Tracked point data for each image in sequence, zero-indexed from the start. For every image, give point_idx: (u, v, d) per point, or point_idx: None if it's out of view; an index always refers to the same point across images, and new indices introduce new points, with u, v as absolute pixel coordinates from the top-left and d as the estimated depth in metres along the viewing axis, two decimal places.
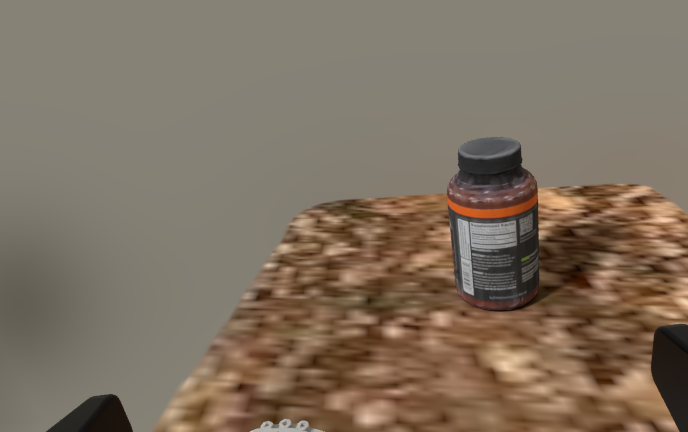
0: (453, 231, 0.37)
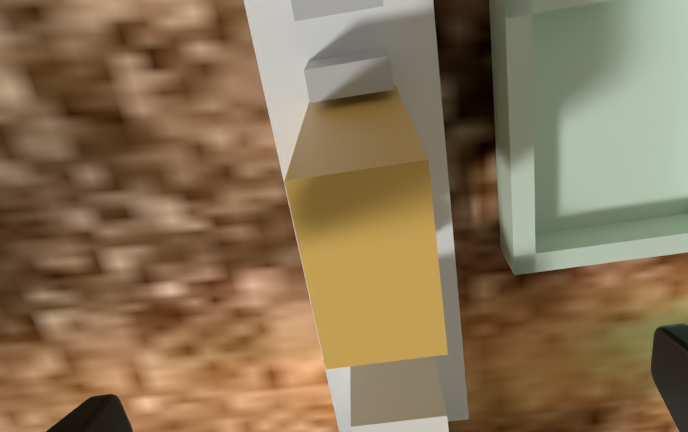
0: None
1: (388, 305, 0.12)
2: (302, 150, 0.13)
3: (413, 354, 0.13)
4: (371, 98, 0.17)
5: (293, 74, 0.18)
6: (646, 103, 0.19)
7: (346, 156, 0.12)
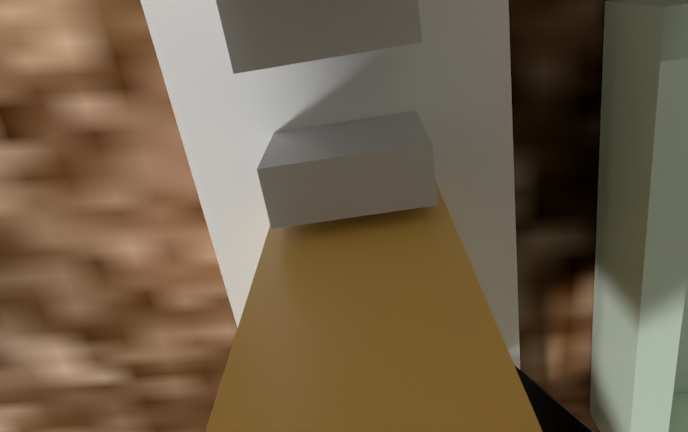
0: None
1: None
2: None
3: None
4: (391, 212, 0.09)
5: (247, 156, 0.10)
6: None
7: None
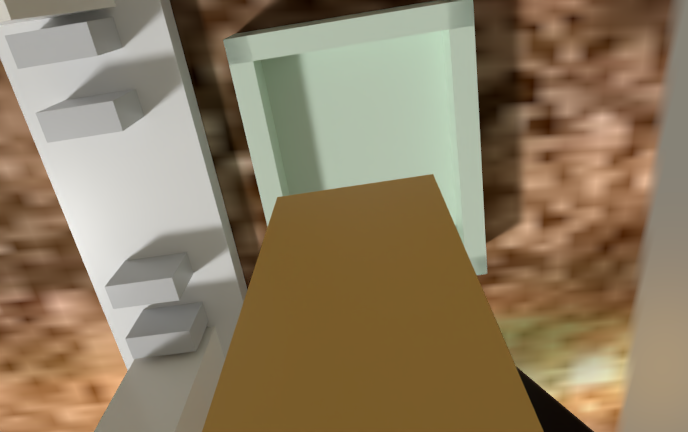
0: None
1: None
2: None
3: None
4: (390, 210, 0.09)
5: None
6: (396, 140, 0.20)
7: None
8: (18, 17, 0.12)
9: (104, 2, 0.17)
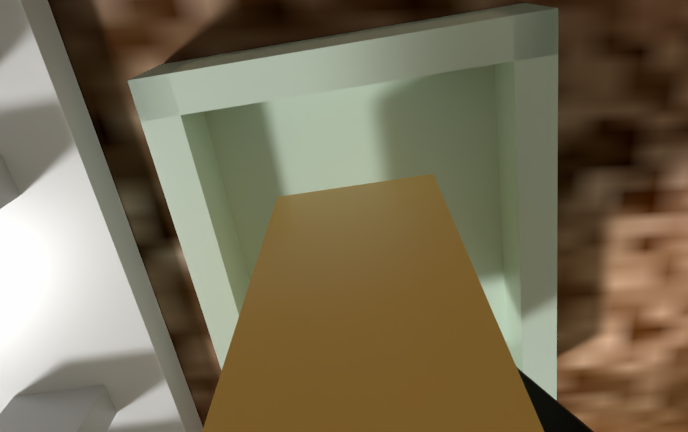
0: None
1: None
2: None
3: None
4: (391, 209, 0.09)
5: None
6: None
7: None
8: None
9: None
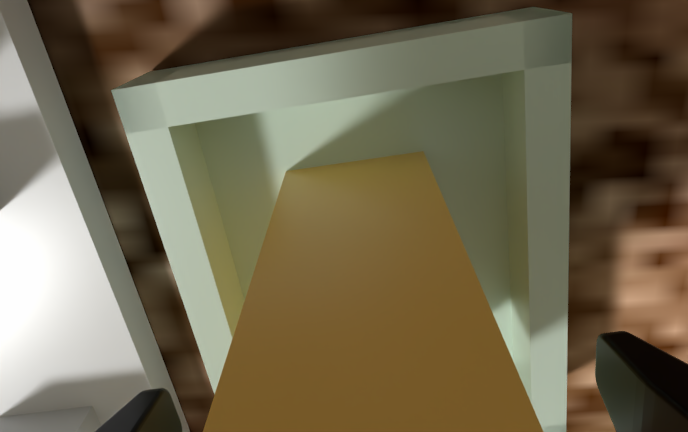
0: None
1: None
2: (249, 342, 0.06)
3: None
4: (385, 179, 0.10)
5: None
6: None
7: (340, 397, 0.05)
8: None
9: None
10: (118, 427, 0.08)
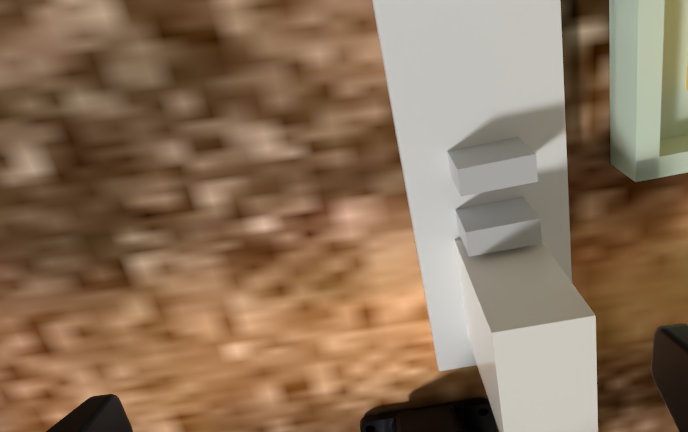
0: None
1: None
2: None
3: None
4: None
5: None
6: None
7: None
8: None
9: None
10: None
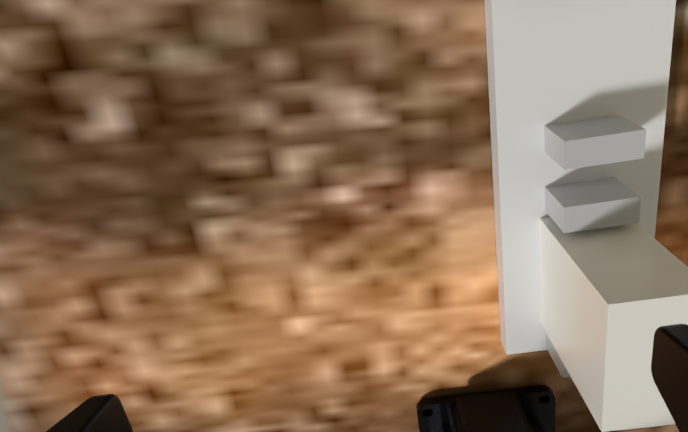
0: None
1: None
2: None
3: None
4: None
5: None
6: None
7: None
8: None
9: None
10: None
